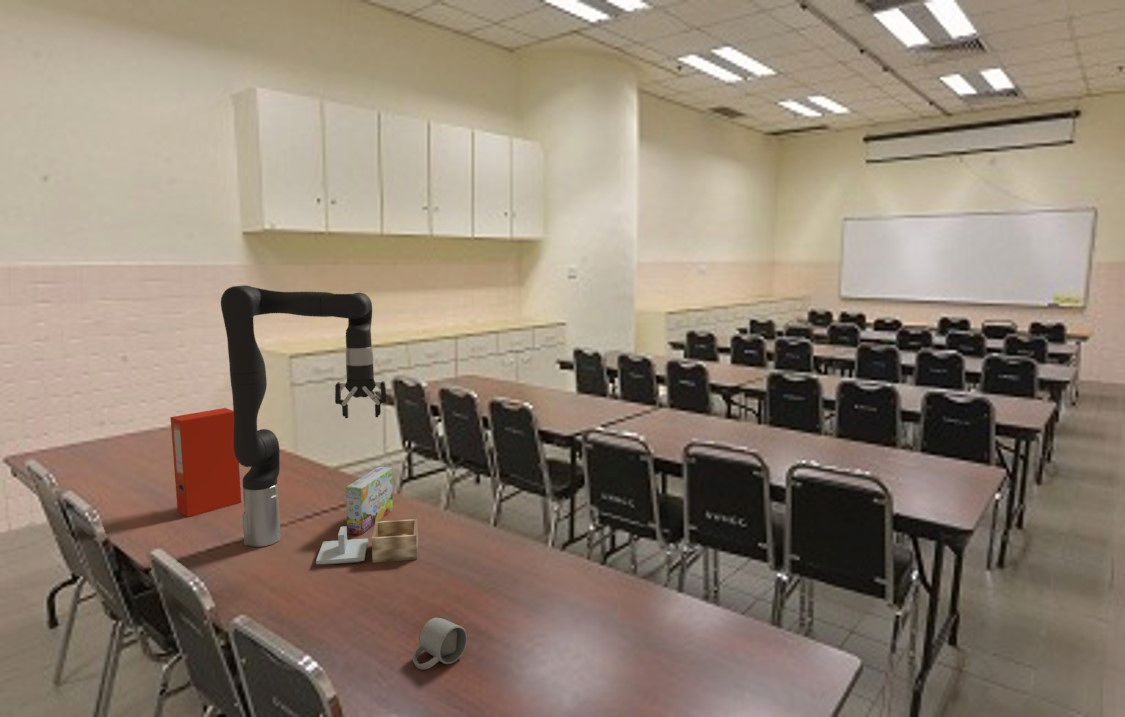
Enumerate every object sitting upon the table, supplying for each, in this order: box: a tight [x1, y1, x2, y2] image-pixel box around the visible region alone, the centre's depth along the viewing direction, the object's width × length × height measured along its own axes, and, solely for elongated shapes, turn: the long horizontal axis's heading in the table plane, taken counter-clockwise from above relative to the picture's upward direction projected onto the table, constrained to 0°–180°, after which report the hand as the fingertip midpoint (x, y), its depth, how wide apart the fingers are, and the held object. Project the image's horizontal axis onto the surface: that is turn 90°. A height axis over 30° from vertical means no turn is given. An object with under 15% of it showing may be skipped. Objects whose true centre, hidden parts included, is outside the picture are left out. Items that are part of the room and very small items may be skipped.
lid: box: [315, 525, 369, 566], centre depth 189 cm, size 13×13×8 cm
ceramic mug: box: [412, 617, 468, 671], centre depth 141 cm, size 11×8×8 cm
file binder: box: [169, 407, 242, 518], centre depth 222 cm, size 8×17×32 cm, turn 141°
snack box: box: [345, 466, 394, 536], centre depth 213 cm, size 21×6×15 cm, turn 168°
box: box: [371, 518, 419, 564], centre depth 192 cm, size 12×12×7 cm
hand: (362, 417), depth 195 cm, fingers open, 8 cm apart
